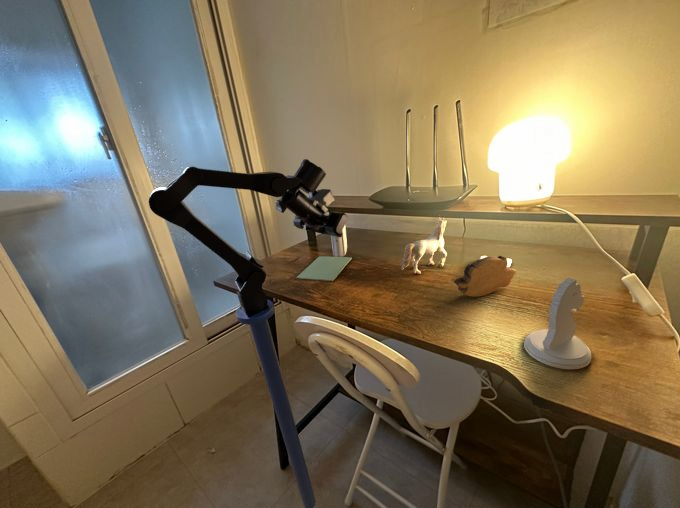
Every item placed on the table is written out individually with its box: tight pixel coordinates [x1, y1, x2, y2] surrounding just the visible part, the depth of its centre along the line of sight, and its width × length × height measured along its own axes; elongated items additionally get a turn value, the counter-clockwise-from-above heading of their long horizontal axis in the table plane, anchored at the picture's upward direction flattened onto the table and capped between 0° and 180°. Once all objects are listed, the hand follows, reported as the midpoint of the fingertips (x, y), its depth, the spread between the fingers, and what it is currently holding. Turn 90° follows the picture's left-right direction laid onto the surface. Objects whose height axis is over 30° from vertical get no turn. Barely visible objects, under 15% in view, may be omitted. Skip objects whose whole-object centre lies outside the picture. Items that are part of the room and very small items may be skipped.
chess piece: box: [523, 277, 592, 370], centre depth 52 cm, size 10×10×15 cm
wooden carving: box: [453, 255, 517, 298], centre depth 74 cm, size 16×5×10 cm, turn 110°
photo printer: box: [330, 225, 348, 257], centre depth 95 cm, size 10×4×12 cm, turn 173°
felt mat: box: [295, 255, 353, 282], centre depth 103 cm, size 18×13×1 cm
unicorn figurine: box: [400, 216, 448, 275], centre depth 90 cm, size 7×20×13 cm, turn 128°
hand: (335, 234), depth 92 cm, fingers closed on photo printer, 4 cm apart
